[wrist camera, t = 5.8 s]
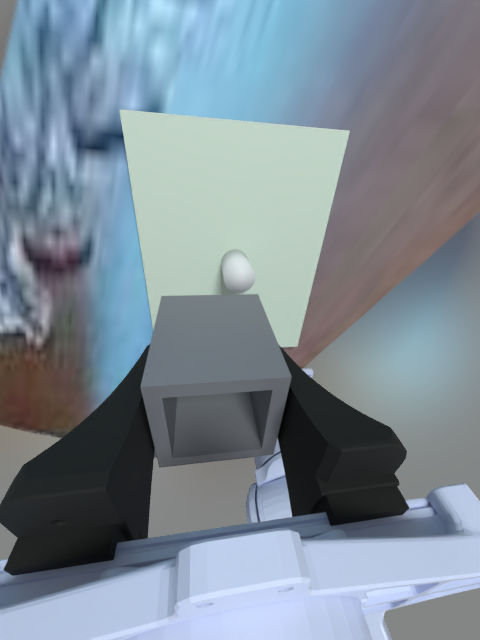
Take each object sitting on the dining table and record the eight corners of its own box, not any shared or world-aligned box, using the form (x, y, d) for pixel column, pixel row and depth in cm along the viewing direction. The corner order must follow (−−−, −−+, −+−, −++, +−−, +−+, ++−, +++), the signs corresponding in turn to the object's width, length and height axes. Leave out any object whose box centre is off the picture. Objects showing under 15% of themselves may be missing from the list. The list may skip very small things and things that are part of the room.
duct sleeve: (250, 362, 17) (273, 454, 12) (171, 367, 16) (159, 467, 11) (257, 294, 14) (291, 377, 9) (161, 295, 13) (140, 387, 8)
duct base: (294, 340, 27) (307, 367, 24) (157, 345, 25) (152, 375, 22) (342, 131, 17) (376, 128, 14) (123, 111, 15) (103, 102, 12)
